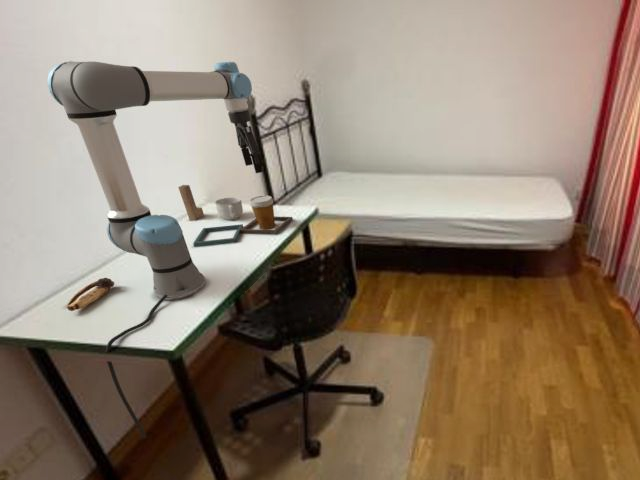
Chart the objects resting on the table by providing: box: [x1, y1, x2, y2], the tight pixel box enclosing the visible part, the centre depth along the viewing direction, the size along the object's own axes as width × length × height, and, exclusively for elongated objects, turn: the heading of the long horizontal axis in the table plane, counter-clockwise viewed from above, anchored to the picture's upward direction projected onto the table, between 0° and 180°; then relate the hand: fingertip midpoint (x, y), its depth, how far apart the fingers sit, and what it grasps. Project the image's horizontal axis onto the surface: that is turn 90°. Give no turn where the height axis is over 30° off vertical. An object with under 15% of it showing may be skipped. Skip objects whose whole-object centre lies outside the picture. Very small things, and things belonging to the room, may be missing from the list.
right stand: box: [240, 216, 294, 235], centre depth 190 cm, size 16×16×2 cm
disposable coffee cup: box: [249, 195, 276, 230], centre depth 187 cm, size 10×10×12 cm
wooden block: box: [178, 184, 205, 221], centre depth 200 cm, size 7×3×15 cm, turn 169°
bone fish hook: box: [66, 277, 115, 312], centre depth 142 cm, size 9×5×18 cm
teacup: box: [214, 197, 244, 221], centre depth 199 cm, size 14×11×8 cm
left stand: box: [192, 223, 244, 247], centre depth 183 cm, size 16×16×2 cm
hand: (254, 168), depth 177 cm, fingers open, 13 cm apart
